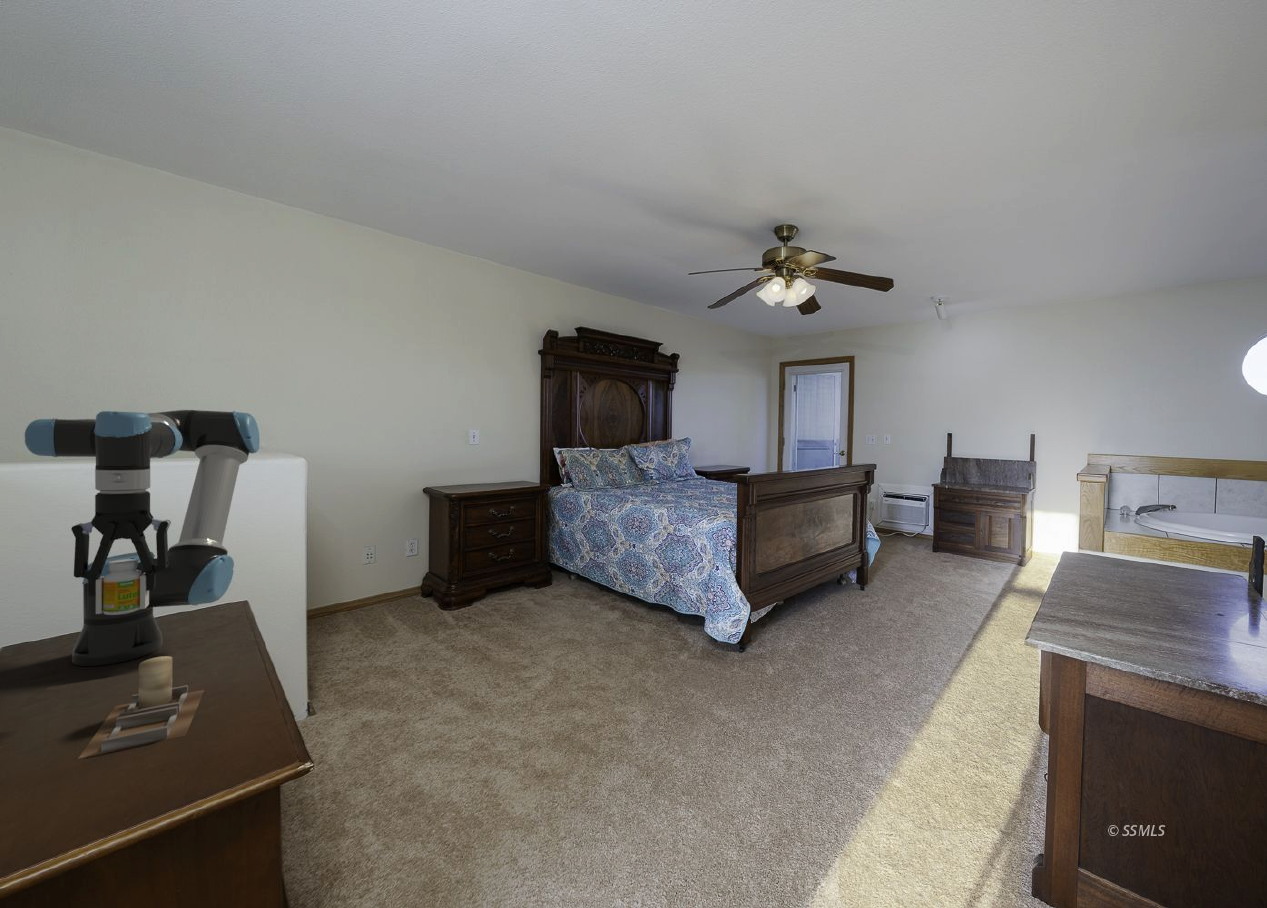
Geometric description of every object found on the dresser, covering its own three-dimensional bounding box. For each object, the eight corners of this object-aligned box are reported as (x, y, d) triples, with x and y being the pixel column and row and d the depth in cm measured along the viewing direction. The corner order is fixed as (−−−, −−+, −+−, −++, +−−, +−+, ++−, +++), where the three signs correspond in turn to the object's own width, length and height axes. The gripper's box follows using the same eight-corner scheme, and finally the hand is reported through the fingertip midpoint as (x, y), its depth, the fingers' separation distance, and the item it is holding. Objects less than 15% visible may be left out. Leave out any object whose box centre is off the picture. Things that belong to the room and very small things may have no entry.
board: (115, 712, 96) (115, 696, 95) (204, 695, 103) (204, 681, 102) (77, 766, 80) (77, 747, 80) (185, 742, 87) (185, 725, 87)
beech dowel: (142, 705, 96) (142, 659, 96) (174, 700, 98) (174, 654, 98) (135, 717, 92) (135, 669, 92) (168, 711, 94) (169, 663, 94)
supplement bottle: (117, 617, 95) (117, 566, 95) (95, 613, 96) (95, 563, 96) (149, 607, 101) (149, 559, 100) (128, 604, 102) (128, 557, 101)
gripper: (44, 494, 90) (45, 623, 90) (182, 491, 99) (181, 607, 100) (62, 490, 96) (62, 610, 97) (190, 487, 106) (189, 597, 107)
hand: (123, 608), depth 98 cm, fingers closed on supplement bottle, 5 cm apart
